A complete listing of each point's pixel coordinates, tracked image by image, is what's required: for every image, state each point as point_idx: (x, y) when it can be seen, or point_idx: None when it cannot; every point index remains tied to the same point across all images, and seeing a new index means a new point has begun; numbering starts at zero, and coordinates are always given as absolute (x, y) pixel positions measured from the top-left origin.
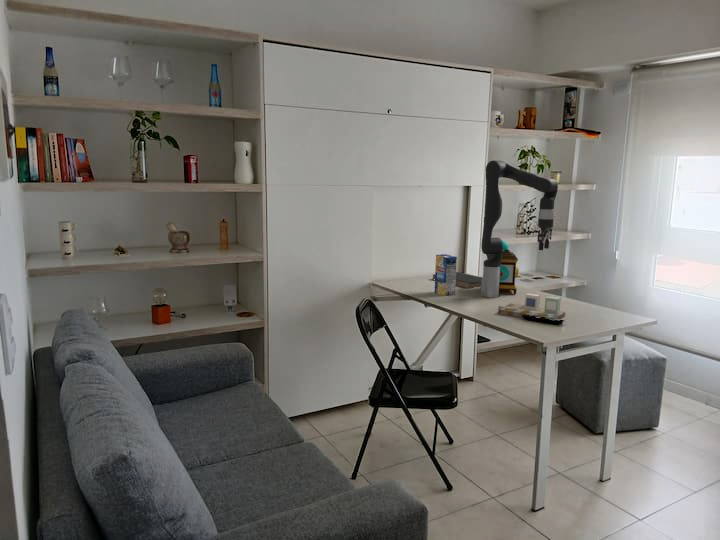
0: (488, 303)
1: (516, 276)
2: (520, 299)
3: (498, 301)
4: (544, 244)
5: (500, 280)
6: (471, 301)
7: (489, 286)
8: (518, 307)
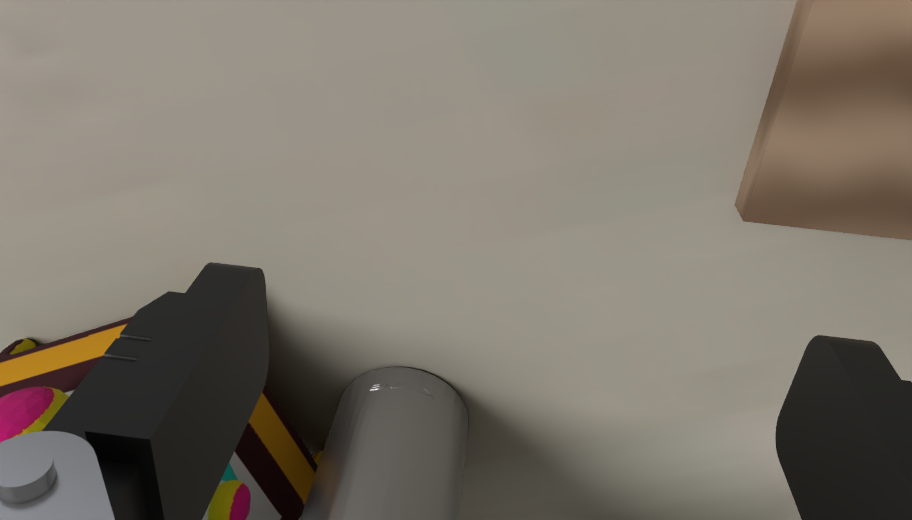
0: (673, 372)
1: (58, 390)
2: (366, 201)
3: (557, 329)
4: (223, 469)
5: (230, 464)
6: (666, 474)
7: (460, 482)
8: (899, 118)
